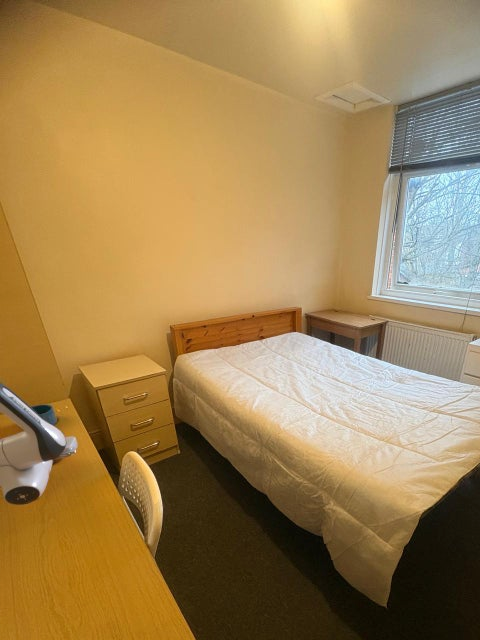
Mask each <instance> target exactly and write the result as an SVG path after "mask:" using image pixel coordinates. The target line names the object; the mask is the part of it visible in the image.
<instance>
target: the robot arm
mask: <svg viewBox="0 0 480 640" xmlns="http://www.w3.org/2000/svg"><path fill="white" fill-rule="evenodd" d="M31 407H32V406H31V405H30V404H28V403H27V402H26V401H24V400H23V399H22V398H21V397H20V396H19V395H18V394H16V393H15V392H14V391H13V390H12V389H11V388H9V387H8V386H7V385H5V384H4V383H3V382H2V381H0V413H1V414H3V415H5V417H7V418H8V419H10V420H11V421H12V422H13V423H14V424H16V425H17V426H18V427H19V428H21V429H22V430H23V431H21V432H18V433H15V434H12V435H9V436H6V437H3V438H0V487H1V491H2V497H3V499H4V500H5V501H6V503H9V504H11V505H15V506H20V505H21V506H22V505H27V504H31V503H33V502H35V501H37V500H38V499H39V498H41V496H42V495H43V493H44V492H45V491H46V488H47V485H48V483H49V478H50V473H51V471H52V468H53V465H54V464H53V461H54V460H56V459H59V460H61V459H66V458H69V457H72V456H73V455H74V454H76V453H77V449H78V445H79V444H78V440H77V438H76V436H65V435H64V433H63V432H62V430H61V429H59V428H58V427H57V426H56V425H55V424H51V423H49V422H48V421H46V420H45V419H44V418H43V417H42V416H40V415H39V414H38V413H37V412H36V411H35V410H34V409H32V408H31Z"/></svg>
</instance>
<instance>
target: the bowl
mask: <svg viewBox="0 0 480 640" xmlns="http://www.w3.org/2000/svg"><path fill="white" fill-rule="evenodd" d="M30 407H31V408H32V409H34V410H35V411H36V412H37V413H38V414H39V415H40V416H42V417H43V418H44V419H45V420H46V421H48V422H49V423H51V424H53V425H55V424H56V423H57V422H58V417H57V414H56V411H55V409H54V406H53V405H51V404H47V403H46V404H36V405H33V406H30Z"/></svg>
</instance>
